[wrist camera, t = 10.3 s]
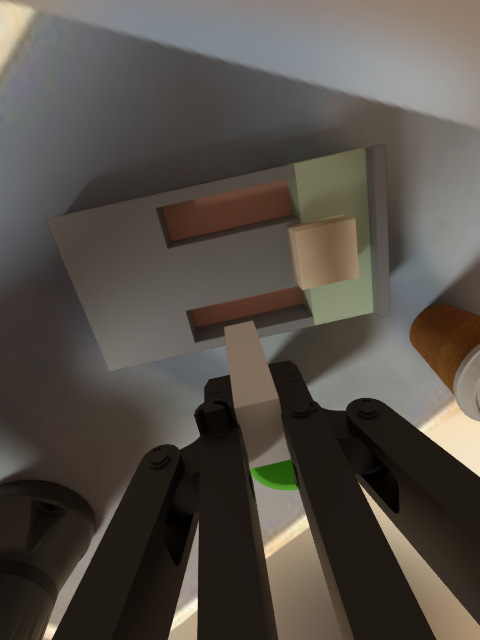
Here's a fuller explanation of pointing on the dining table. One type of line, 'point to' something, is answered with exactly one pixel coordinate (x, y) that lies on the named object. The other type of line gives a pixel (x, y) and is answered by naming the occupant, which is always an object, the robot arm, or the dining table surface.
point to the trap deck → (223, 257)
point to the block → (323, 251)
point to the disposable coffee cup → (452, 351)
